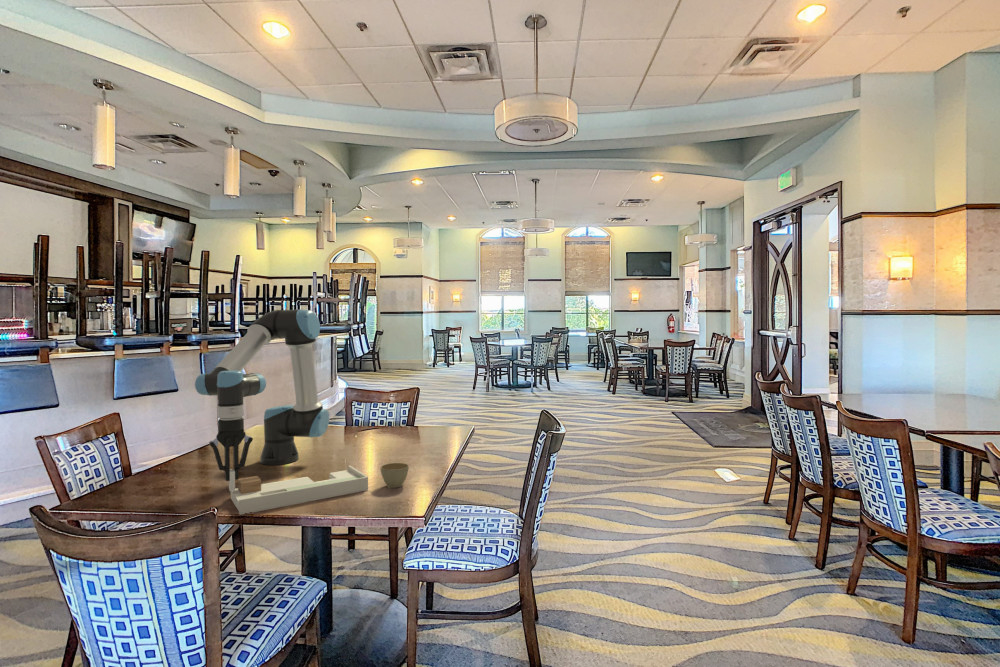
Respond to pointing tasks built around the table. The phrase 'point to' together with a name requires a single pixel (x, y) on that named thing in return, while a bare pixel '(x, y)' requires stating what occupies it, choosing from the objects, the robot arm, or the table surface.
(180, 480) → the table surface
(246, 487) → the block
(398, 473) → the flower pot
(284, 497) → the tray
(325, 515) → the table surface
